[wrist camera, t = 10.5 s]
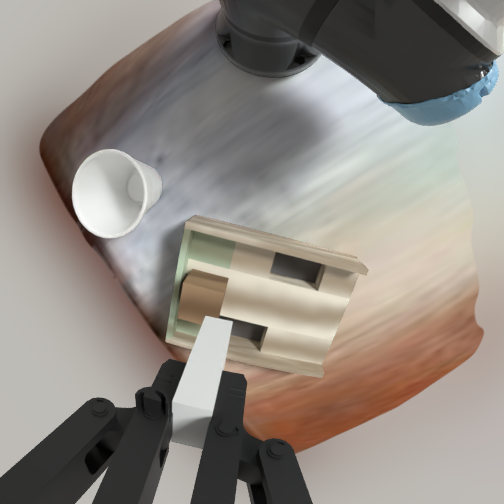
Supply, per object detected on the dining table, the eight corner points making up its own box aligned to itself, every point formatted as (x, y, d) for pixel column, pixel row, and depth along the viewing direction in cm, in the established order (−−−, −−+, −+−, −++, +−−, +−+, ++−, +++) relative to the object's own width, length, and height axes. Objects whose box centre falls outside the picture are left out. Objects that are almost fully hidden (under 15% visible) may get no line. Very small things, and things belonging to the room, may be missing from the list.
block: (192, 268, 40) (183, 282, 35) (228, 278, 40) (224, 293, 36) (186, 301, 42) (177, 318, 37) (221, 310, 42) (215, 328, 37)
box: (195, 214, 41) (185, 222, 36) (356, 257, 42) (368, 269, 37) (175, 323, 46) (165, 342, 41) (317, 357, 47) (322, 377, 42)
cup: (129, 231, 42) (91, 251, 32) (104, 170, 40) (60, 175, 29) (187, 204, 41) (161, 217, 30) (160, 139, 39) (126, 132, 28)
